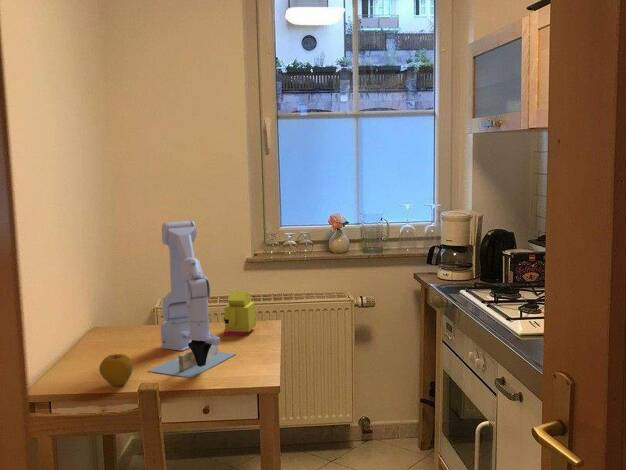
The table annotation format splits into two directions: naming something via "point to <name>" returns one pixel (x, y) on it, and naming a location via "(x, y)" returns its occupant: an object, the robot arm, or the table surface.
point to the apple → (116, 369)
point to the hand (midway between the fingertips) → (201, 365)
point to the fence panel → (186, 360)
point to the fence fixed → (213, 350)
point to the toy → (239, 314)
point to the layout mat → (193, 370)
